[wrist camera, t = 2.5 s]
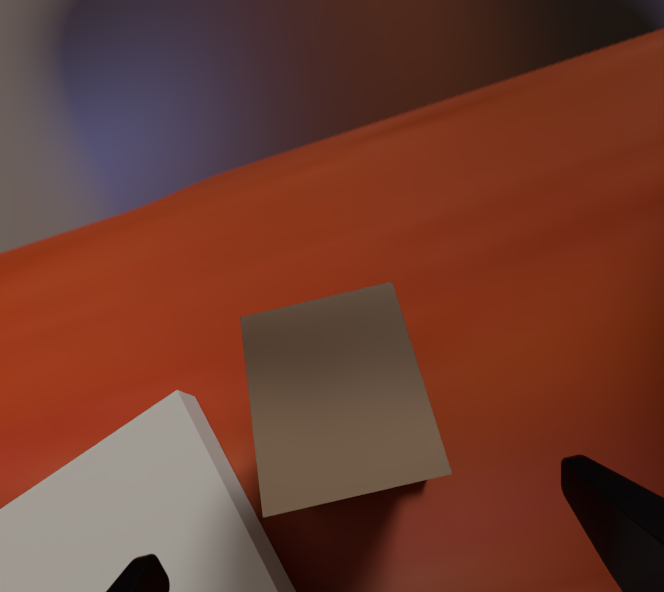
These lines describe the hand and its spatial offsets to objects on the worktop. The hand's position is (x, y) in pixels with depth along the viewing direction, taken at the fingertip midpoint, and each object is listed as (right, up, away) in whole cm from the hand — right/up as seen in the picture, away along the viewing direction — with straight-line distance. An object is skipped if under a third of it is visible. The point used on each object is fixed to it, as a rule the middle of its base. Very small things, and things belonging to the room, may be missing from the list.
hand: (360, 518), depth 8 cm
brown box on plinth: (0, -2, +11) cm, 11 cm away
